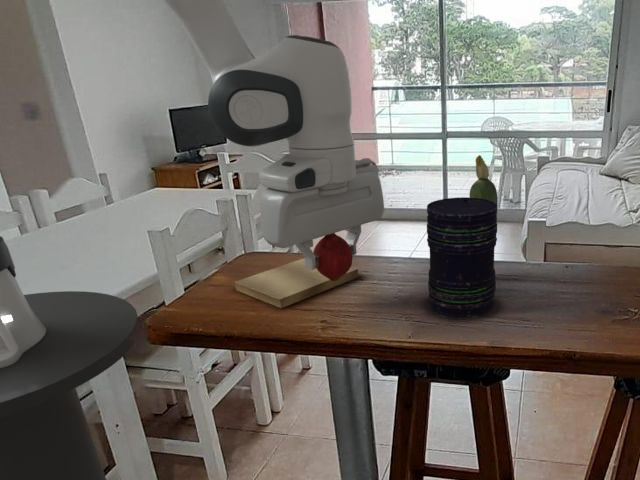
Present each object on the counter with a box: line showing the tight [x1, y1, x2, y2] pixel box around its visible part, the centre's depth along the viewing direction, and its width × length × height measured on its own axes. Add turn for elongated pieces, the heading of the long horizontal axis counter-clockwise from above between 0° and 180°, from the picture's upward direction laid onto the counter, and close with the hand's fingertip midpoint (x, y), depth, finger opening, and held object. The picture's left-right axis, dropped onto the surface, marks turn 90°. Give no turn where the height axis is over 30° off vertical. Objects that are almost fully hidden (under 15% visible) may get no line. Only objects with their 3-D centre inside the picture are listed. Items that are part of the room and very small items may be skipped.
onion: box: [312, 233, 354, 281], centre depth 84 cm, size 6×6×8 cm
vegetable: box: [469, 154, 499, 216], centre depth 90 cm, size 4×4×20 cm
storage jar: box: [426, 196, 498, 320], centre depth 82 cm, size 10×10×15 cm
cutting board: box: [234, 257, 359, 309], centre depth 94 cm, size 16×12×2 cm
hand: (331, 261), depth 85 cm, fingers closed on onion, 6 cm apart
